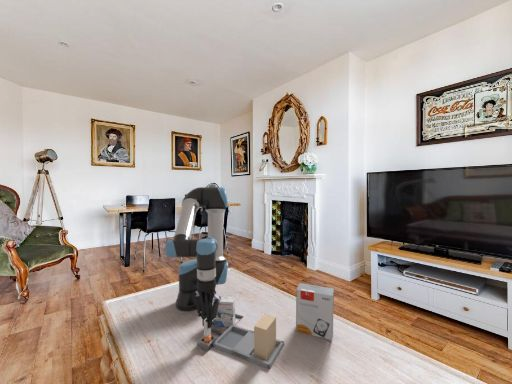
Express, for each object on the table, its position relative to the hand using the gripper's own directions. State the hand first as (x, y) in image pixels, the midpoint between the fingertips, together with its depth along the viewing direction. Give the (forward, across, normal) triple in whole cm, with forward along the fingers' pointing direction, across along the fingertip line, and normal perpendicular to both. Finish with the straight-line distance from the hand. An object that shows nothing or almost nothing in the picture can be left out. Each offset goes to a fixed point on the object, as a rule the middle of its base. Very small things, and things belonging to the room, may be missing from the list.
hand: (207, 334), depth 98 cm
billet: (+3, +24, +6) cm, 24 cm away
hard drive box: (+5, +37, +28) cm, 47 cm away
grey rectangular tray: (+4, +16, +6) cm, 18 cm away
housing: (+4, 0, 0) cm, 4 cm away
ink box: (+5, -2, +16) cm, 16 cm away
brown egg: (+4, 0, 0) cm, 4 cm away
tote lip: (+4, -2, +16) cm, 16 cm away
